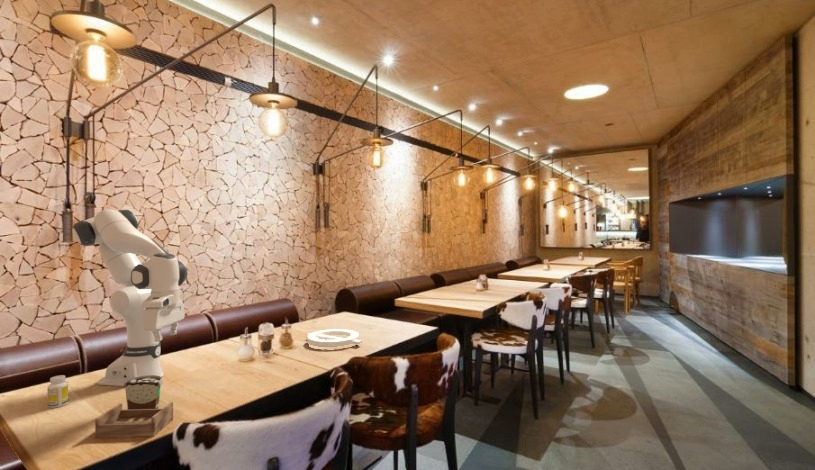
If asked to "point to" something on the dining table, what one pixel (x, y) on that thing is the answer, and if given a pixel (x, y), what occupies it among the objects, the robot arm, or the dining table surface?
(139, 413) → the wooden tray
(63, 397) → the supplement bottle
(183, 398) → the dining table surface
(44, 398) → the dining table surface
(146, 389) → the food container
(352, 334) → the white circle with bar
